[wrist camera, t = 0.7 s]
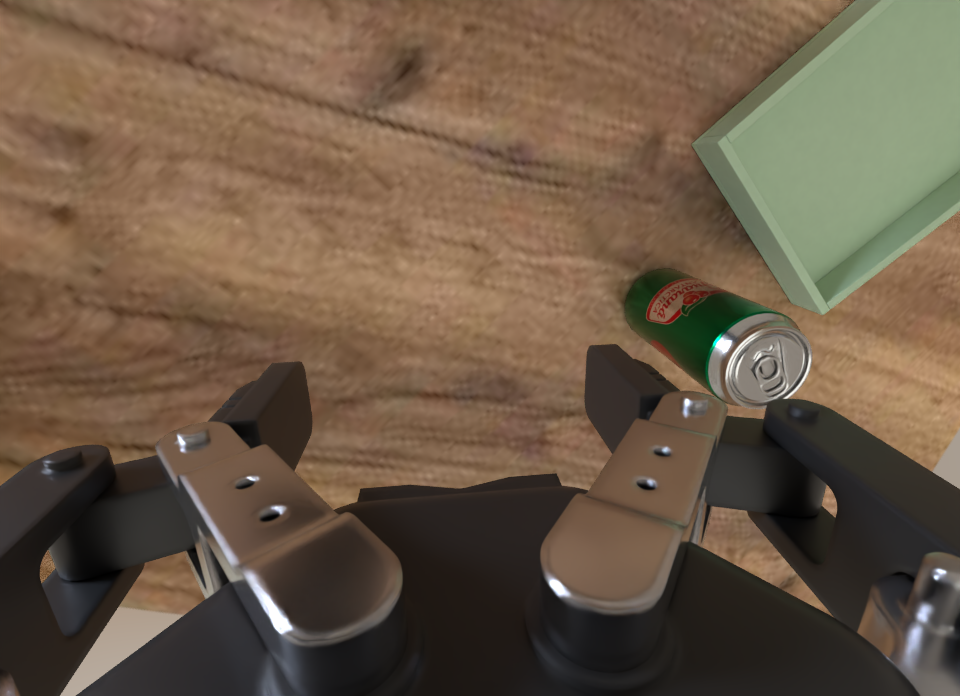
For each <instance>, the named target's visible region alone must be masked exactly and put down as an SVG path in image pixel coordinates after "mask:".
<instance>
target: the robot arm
mask: <svg viewBox="0 0 960 696" xmlns="http://www.w3.org/2000/svg"><path fill="white" fill-rule="evenodd" d="M585 408H586V412H587V415H588V418H589V419H590V421H591V422H592V424H593V425H594V427H595V428H596V430H597V431H598V433H599V434H600V436H601V438H602V439H603V441H604V442H605V444H606V445H607V447H608V448H609V450H610V451H611V453H612V456H611V457H610V459H609V460H608V462H607V463H606V465H605V466H604V468H603V470H602V471H601V473H600V474H599V476H598V477H597V479H596V480H595V482H594V483H593V485H592V486H591V488H590V489H589V491H588V490H584V489H580V488H575V487H568V486H562V485H561V483H560V481H559V478H558V476H557V474H543V475H530V476H517V477H508V478H504V479H500V480H496V481H491V482H487V483H483V484H479V485H475V486H471V487H467V488H461V489H455V488H442V487H430V486H418V485H402V486H389V487H376V488H363V489H360V493H359V497H358V502H356V503H352V504H349V505H346V506H343V507H340V508H337V509H335V510H333V509H332V508H331V507H330V506H329V505H328V504H327V503H326V502H325V501H324V500H323V499H322V498H321V497H320V496H319V495H318V494H317V493H316V492H315V491H314V490H313V489H312V488H311V487H310V486H309V485H308V484H307V483H306V482H304V481H303V480H302V479H301V478H300V477H299V476H298V475H297V474H296V473H295V472H294V470H295V468H296V466H297V464H298V462H299V460H300V458H301V455H302V453H303V451H304V449H305V447H306V445H307V443H308V441H309V438H310V436H311V432H312V412H311V405H310V399H309V392H308V386H307V380H306V373H305V369H304V366H303V364H302V362H300V361H299V362H281V363H272V364H271V365H270V366H269V367H268V368H267V370H266V371H265V372H264V373H263V374H262V375H261V376H260V378H259V379H258V380H257V381H252V382H250V383H248V384H246V385H245V386H243V387H241V388H239V389H237V390H236V391H235V393H234V394H233V395H232V396H231V397H230V398H229V400H227V401H226V402H225V403H224V404H223V406H222V408H220V409H219V410H218V411H217V412H216V413H215V414H214V415H213V416H212V417H211V419H210V420H209V421H208V422H202V423H196V424H192V425H188V426H185V427H182V428H179V429H177V430H174V431H172V432H170V433H168V434H167V435H165V436H164V437H162V438H161V439H160V440H159V441H158V442H157V444H156V447H155V448H156V451H157V455H156V456H152V457H148V458H143V459H139V460H134V461H129V462H125V463H120V464H116V465H114V464H113V461H112V458H111V455H110V452H109V449H108V448H107V447H105V446H102V445H83V446H77V447H72V448H67V449H63V450H59V451H56V452H54V453H52V454H49V455H47V456H44V457H42V458H40V459H38V460H36V461H34V462H32V463H31V464H29V465H27V466H26V467H25V468H23V469H22V470H21V471H19V472H18V473H17V474H15V475H14V476H13V477H12V478H10V479H9V480H8V481H6V482H5V483H4V484H2V485H1V486H0V696H60V695H61V693H62V692H63V690H64V688H65V687H66V685H67V684H68V682H69V681H70V679H71V678H72V676H73V675H74V673H75V672H76V670H77V669H78V667H79V666H80V664H81V663H82V661H83V660H84V658H85V657H86V655H87V654H88V652H89V651H90V649H91V648H92V646H93V644H94V643H95V641H96V640H97V638H98V637H99V635H100V634H101V632H102V631H103V629H104V628H105V626H106V625H107V623H108V622H109V620H110V619H111V617H112V616H113V614H114V613H115V611H116V610H117V608H118V607H119V605H120V604H121V602H122V601H123V599H124V598H125V596H126V594H127V593H128V591H129V590H130V588H131V587H132V585H133V584H134V582H135V581H136V579H137V578H138V576H139V575H140V573H141V572H142V570H143V568H144V563H145V562H149V561H152V560H156V559H159V558H162V557H166V556H169V555H173V554H176V553H180V552H183V551H185V554H186V558H187V561H188V563H189V565H190V567H191V569H192V571H193V573H194V575H195V577H196V579H197V582H198V584H199V586H200V588H201V590H202V592H203V594H204V596H205V598H206V599H205V600H204V601H203V602H201V603H200V604H199V605H197V606H196V607H195V608H193V609H192V610H191V611H189V612H188V613H187V614H185V615H184V616H183V617H181V618H180V619H179V620H177V621H176V622H175V623H173V624H172V625H170V626H169V627H168V628H166V629H165V630H164V631H162V632H161V633H160V634H158V635H157V636H156V637H154V638H153V639H152V640H150V641H149V642H148V643H146V644H145V645H144V646H142V647H141V648H139V649H138V650H137V651H135V652H134V653H133V654H131V655H130V656H129V657H127V658H126V659H125V660H123V661H122V662H121V663H119V664H118V665H117V666H115V667H114V668H113V669H111V670H110V671H108V672H107V673H106V674H105V675H103V676H102V677H100V678H99V679H98V680H96V681H95V682H94V683H92V684H91V685H90V686H88V687H87V688H86V689H84V690H83V691H82V692H80V693H79V694H77V695H76V696H960V489H958V488H957V487H955V486H954V485H952V484H950V483H949V482H947V481H946V480H944V479H942V478H941V477H939V476H937V475H936V474H934V473H933V472H931V471H930V470H928V469H926V468H925V467H923V466H922V465H920V464H918V463H917V462H915V461H914V460H912V459H910V458H909V457H907V456H906V455H904V454H902V453H901V452H899V451H898V450H896V449H894V448H893V447H891V446H890V445H888V444H886V443H885V442H883V441H882V440H880V439H878V438H877V437H875V436H874V435H872V434H870V433H869V432H867V431H866V430H864V429H862V428H861V427H859V426H858V425H856V424H854V423H853V422H851V421H850V420H848V419H846V418H845V417H843V416H842V415H840V414H838V413H837V412H835V411H833V410H832V409H830V408H827V407H825V406H822V405H820V404H817V403H813V402H811V401H807V400H800V399H776V400H772V401H770V402H768V404H767V406H766V412H765V417H764V419H755V418H743V417H733V416H727V411H728V407H727V405H726V404H725V403H724V402H723V401H721V400H720V399H718V398H716V397H714V396H711V395H708V394H704V393H700V392H694V391H680V390H679V389H678V388H676V387H675V386H674V385H673V384H672V383H671V382H669V381H668V380H666V378H665V377H663V376H662V375H661V374H659V372H658V371H656V370H655V369H654V368H653V367H652V366H650V365H649V364H646V363H644V362H641V361H639V360H636V359H632V358H631V357H630V356H629V355H628V354H627V353H626V352H624V351H623V350H622V349H621V348H620V347H619V346H618V345H616V344H609V345H591V346H589V348H588V351H587V360H586V379H585ZM826 485H828V486H829V487H830V489H831V490H832V492H833V493H834V495H835V498H836V501H837V515H836V518H835V517H834V516H832V515H831V514H830V513H829V512H828V511H827V510H826V509H825V508H824V507H823V506H821V505H822V501H823V497H824V493H825V489H826ZM712 506H715V507H723V508H731V509H738V510H746V511H747V513H748V515H749V517H750V518H751V520H752V521H753V522H754V523H755V524H756V526H757V527H758V528H759V529H760V530H761V531H762V533H763V534H764V535H765V536H766V537H767V539H768V540H769V541H770V542H771V543H772V544H773V546H774V547H775V548H776V549H777V550H778V552H779V553H780V554H781V555H782V556H783V557H784V559H785V560H786V561H787V562H788V563H789V564H790V566H791V567H792V568H793V569H794V570H795V572H796V573H797V574H798V575H799V576H800V577H801V579H802V580H803V581H804V582H805V583H806V585H807V586H808V587H809V588H810V589H811V590H812V592H813V593H814V594H815V595H816V596H817V598H818V599H819V600H820V601H821V602H822V603H823V605H824V606H825V607H826V608H827V609H828V610H829V612H830V613H831V614H832V615H833V616H834V617H832V616H830V615H828V614H826V613H825V612H823V611H821V610H819V609H817V608H815V607H813V606H811V605H809V604H808V603H806V602H804V601H802V600H800V599H798V598H796V597H794V596H793V595H791V594H789V593H787V592H785V591H783V590H781V589H779V588H778V587H776V586H774V585H772V584H770V583H768V582H766V581H764V580H762V579H761V578H759V577H757V576H755V575H753V574H751V573H749V572H747V571H746V570H744V569H742V568H740V567H738V566H736V565H734V564H732V563H730V562H729V561H727V560H725V559H723V558H721V557H719V556H717V555H715V554H714V553H712V552H710V551H708V550H706V549H704V548H703V544H704V540H705V536H706V532H707V528H708V524H709V520H710V517H711V512H712ZM47 550H49V552H50V555H51V557H52V560H53V562H54V565H55V567H56V569H55V570H54V571H53V572H52V573H51V574H50V575H49V576H48V578H47V579H46V580H45V581H44V582H43V583H42V584H41V581H40V565H41V562H42V559H43V557H44V555H45V553H46V552H47Z"/></svg>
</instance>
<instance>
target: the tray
mask: <svg viewBox="0 0 960 696" xmlns="http://www.w3.org/2000/svg"><path fill="white" fill-rule="evenodd" d="M691 145H692V147H693V148H694V150H695V151H696V153H697V155H698V156H699V158H700V159H701V161H702V162H703V164H704V166H705V167H706V169H707V170H708V172H709V174H710V175H711V177H712V178H713V180H714V181H715V183H716V185H717V186H718V188H719V189H720V191H721V193H722V194H723V196H724V197H725V199H726V200H727V202H728V204H729V205H730V207H731V208H732V210H733V212H734V213H735V215H736V216H737V218H738V219H739V221H740V223H741V224H742V226H743V227H744V229H745V230H746V232H747V234H748V235H749V237H750V238H751V240H752V242H753V243H754V245H755V246H756V248H757V249H758V251H759V253H760V254H761V256H762V257H763V259H764V261H765V262H766V264H767V265H768V267H769V268H770V270H771V272H772V273H773V275H774V276H775V278H776V280H777V281H778V283H779V284H780V286H781V287H782V289H783V291H784V292H785V294H786V295H787V297H788V299H789V300H790V302H791V303H792V304H794V305H797V306H800V307H802V308H805V309H808V310H810V311H813V312H816V313H818V314H821V315H824V314H825V313H826V312H828V311H829V310H830V309H832V308H833V307H834V306H835V305H837V304H838V303H839V302H841V301H842V300H843V299H845V298H846V297H847V296H848V295H850V294H851V293H852V292H854V291H855V290H856V289H858V288H859V287H860V286H862V285H863V284H864V283H865V282H867V281H868V280H869V279H871V278H872V277H873V276H875V275H876V274H877V273H878V272H880V271H881V270H882V269H884V268H885V267H886V266H888V265H889V264H890V263H892V262H893V261H894V260H895V259H897V258H898V257H899V256H901V255H902V254H903V253H905V252H906V251H907V250H908V249H910V248H911V247H912V246H914V245H915V244H916V243H918V242H919V241H920V240H922V239H923V238H924V237H925V236H927V235H928V234H929V233H931V232H932V231H933V230H935V229H936V228H937V227H938V226H940V225H941V224H942V223H944V222H945V221H946V220H948V219H949V218H950V217H952V216H953V215H954V214H955V213H957V212H958V211H959V210H960V0H855V1H854V2H853V3H852V4H851V5H849V6H848V7H847V8H846V9H845V10H844V11H843V12H842V13H840V14H839V15H838V16H837V17H836V18H835V19H834V20H832V21H831V22H830V23H829V24H828V25H827V26H826V27H824V28H823V29H822V30H821V31H820V32H819V33H818V34H816V35H815V36H814V37H813V38H812V39H811V40H810V41H808V42H807V43H806V44H805V45H804V46H803V47H802V48H800V49H799V50H798V51H797V52H796V53H795V54H794V55H793V56H791V57H790V58H789V59H788V60H787V61H786V62H785V63H783V64H782V65H781V66H780V67H779V68H778V69H777V70H775V71H774V72H773V73H772V74H771V75H770V76H769V77H767V78H766V79H765V80H764V81H763V82H762V83H761V84H759V85H758V86H757V87H756V88H755V89H754V90H753V91H751V92H750V93H749V94H748V95H747V96H746V97H745V98H744V99H742V100H741V101H740V102H739V103H738V104H737V105H736V106H734V107H733V108H732V109H731V110H730V111H729V112H728V113H726V114H725V115H724V116H723V117H722V118H721V119H720V120H718V121H717V122H716V123H715V124H714V125H713V126H712V127H710V128H709V129H708V130H707V131H706V132H705V133H704V134H702V135H701V136H700V137H699V138H698V139H697V140H696V141H695V142H693V143H692V144H691Z"/></svg>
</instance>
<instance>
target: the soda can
mask: <svg viewBox="0 0 960 696" xmlns="http://www.w3.org/2000/svg"><path fill="white" fill-rule="evenodd" d="M625 315H626V319H627V322H628V324H629V326H630V327H631V329H632V330H633V331H634V332H635V333H637V334H638V335H639V336H640V337H642V338H643V339H644V340H645V341H647V342H648V343H649V344H650V345H652V346H653V347H654V348H656V349H657V350H658V351H659V352H661V353H662V354H663V355H664V356H666V357H667V358H668V359H669V360H671V361H672V362H673V363H674V364H676V365H677V366H678V367H679V368H681V369H682V370H683V371H684V372H686V373H687V374H688V375H689V376H691V377H692V378H693V379H694V380H696V381H697V382H698V383H699V384H701V385H702V386H703V387H704V388H706V389H707V390H708V391H709V392H711V393H712V394H713V395H714V396H716V397H717V398H718V399H720V400H721V401H723V402H725V403H727V404H730V405H735V406H743V407H746V408H750V409H765V408H766V406H767V404H768V402H770V401H772V400H776V399H788V398H790V397H791V396H792V395H793V394H794V393H795V392H796V391H798V389H799V388H800V387H801V386H802V384H803V383H804V381H805V380H806V378H807V376H808V374H809V371H810V368H811V364H812V350H811V346H810V343H809V341H808V340H807V338H806V337H805V335H804V334H802V333H801V331H800V329H799V328H798V326H797V325H796V323H795V322H794V321H793V320H792V319H791V318H789V317H787V316H786V315H784V314H781V313H779V312H777V311H774V310H772V309H769V308H767V307H765V306H762V305H760V304H757V303H755V302H753V301H750V300H748V299H745V298H743V297H741V296H738V295H736V294H733V293H731V292H729V291H726V290H724V289H721V288H719V287H717V286H714V285H712V284H709V283H707V282H705V281H702V280H700V279H697V278H695V277H693V276H690V275H688V274H685V273H683V272H681V271H678V270H675V269H671V268H662V269H657V270H653V271H651V272H649V273H647V274H645V275H644V276H642V277H641V278H640V279H639V280H638V281H637V282H636V283H635V284H634V285H633V287H632V288H631V290H630V292H629V294H628V296H627V299H626V303H625Z"/></svg>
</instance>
